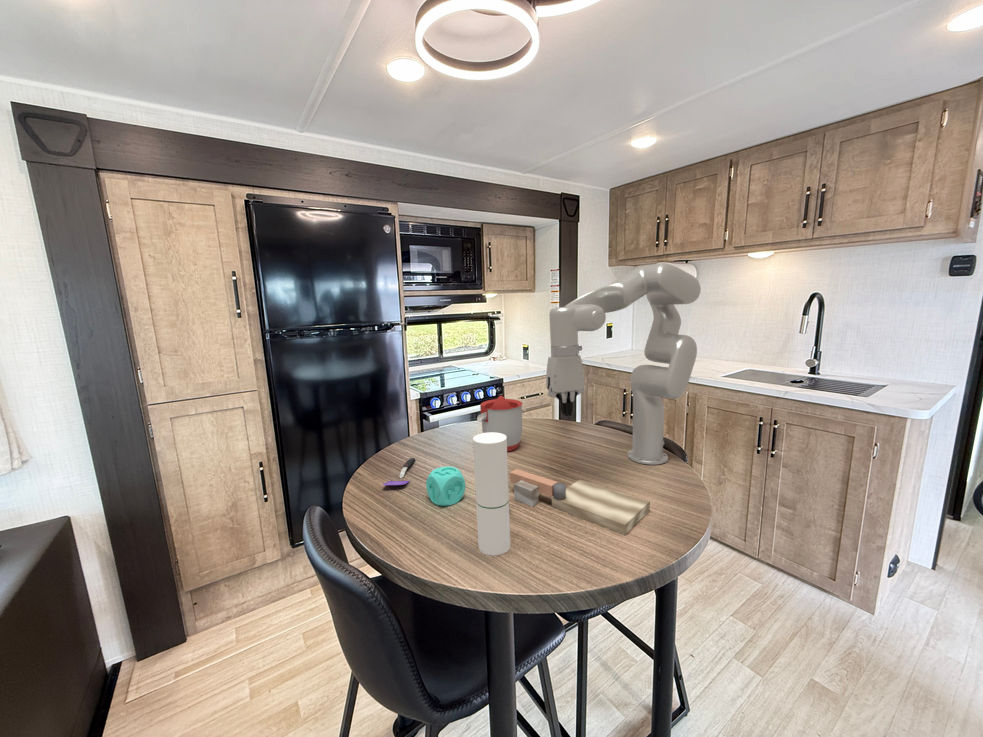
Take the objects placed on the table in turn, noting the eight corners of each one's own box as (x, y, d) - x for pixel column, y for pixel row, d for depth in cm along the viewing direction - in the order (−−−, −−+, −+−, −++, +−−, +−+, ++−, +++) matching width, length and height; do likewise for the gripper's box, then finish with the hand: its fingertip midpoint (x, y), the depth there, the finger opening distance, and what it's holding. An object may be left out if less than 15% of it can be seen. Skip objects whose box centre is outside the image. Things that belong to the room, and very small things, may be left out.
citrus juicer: (471, 445, 150) (469, 394, 147) (511, 437, 157) (509, 389, 154) (488, 459, 136) (486, 403, 133) (531, 449, 143) (530, 396, 140)
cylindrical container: (509, 535, 90) (505, 431, 86) (511, 554, 83) (507, 442, 79) (478, 537, 90) (473, 433, 86) (478, 556, 83) (472, 444, 79)
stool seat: (551, 478, 119) (551, 464, 118) (649, 510, 98) (649, 493, 98) (514, 499, 107) (514, 484, 106) (618, 541, 86) (618, 522, 85)
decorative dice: (426, 499, 109) (424, 472, 108) (450, 489, 114) (448, 463, 113) (442, 509, 103) (440, 481, 102) (466, 499, 108) (465, 472, 107)
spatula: (404, 460, 139) (403, 454, 138) (423, 460, 138) (422, 454, 138) (381, 492, 115) (381, 484, 115) (404, 492, 115) (403, 484, 114)
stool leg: (568, 495, 102) (568, 485, 101) (561, 500, 100) (561, 489, 99) (517, 478, 113) (516, 468, 113) (510, 482, 111) (509, 472, 110)
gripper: (582, 347, 114) (584, 408, 117) (534, 352, 110) (537, 415, 114) (595, 350, 107) (597, 414, 110) (544, 356, 103) (548, 422, 106)
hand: (566, 414), depth 112 cm, fingers closed
